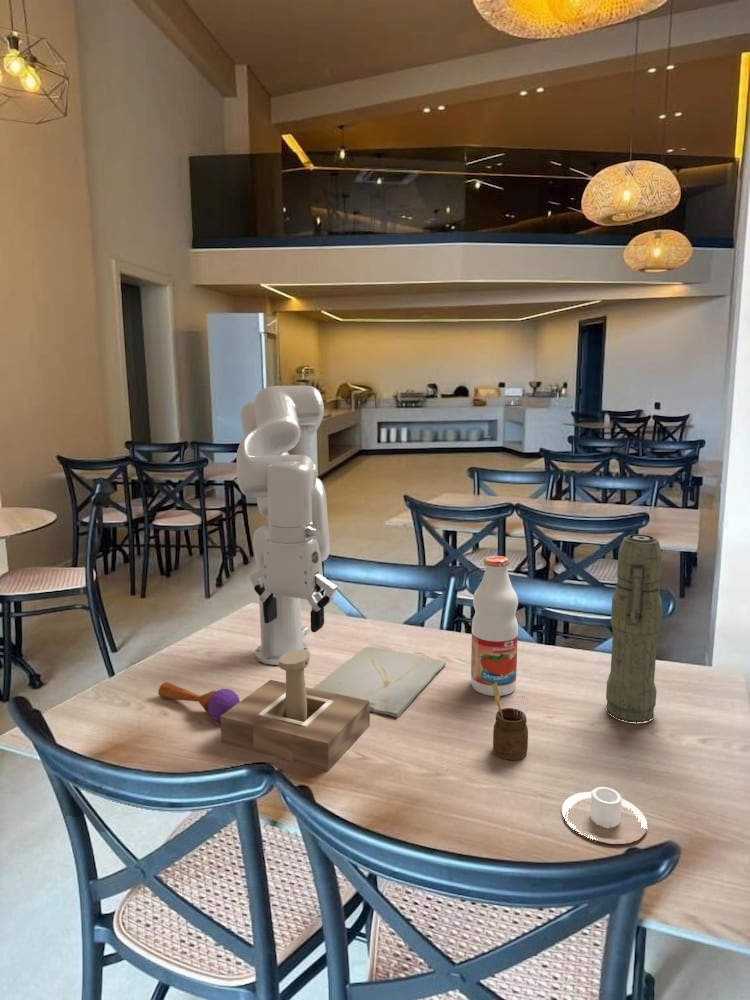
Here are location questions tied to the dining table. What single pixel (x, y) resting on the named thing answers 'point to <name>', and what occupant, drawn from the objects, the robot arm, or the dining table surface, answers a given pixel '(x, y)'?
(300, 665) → the handle
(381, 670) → the decorative slab
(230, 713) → the brown flat block
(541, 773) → the dining table surface
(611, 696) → the thermos
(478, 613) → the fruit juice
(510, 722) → the utensil holder
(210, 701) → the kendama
